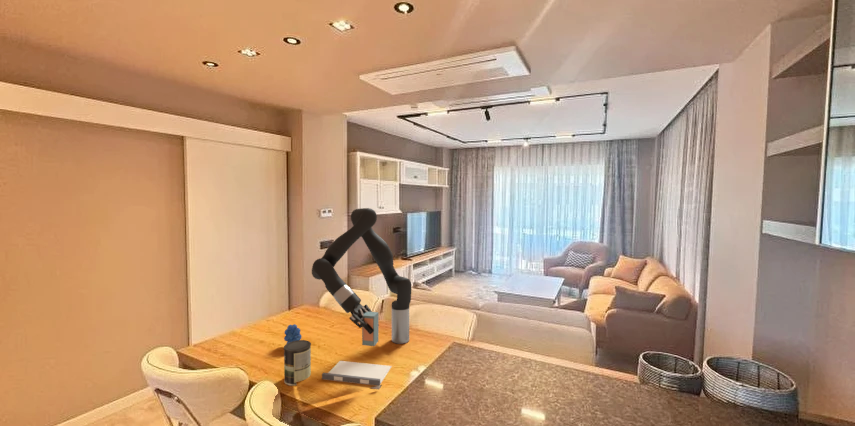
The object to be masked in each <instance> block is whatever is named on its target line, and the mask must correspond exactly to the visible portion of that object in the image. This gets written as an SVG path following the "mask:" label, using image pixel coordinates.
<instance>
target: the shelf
mask: <svg viewBox="0 0 855 426" xmlns="http://www.w3.org/2000/svg"><path fill="white" fill-rule="evenodd" d="M392 367H393V365H385V364H377V363H376V364H374V363H366V362H356V361H344V360H339V361H338V362H337V363H336V364H335V366H333V367H332V369H330V371H328V372H323V373H322V374H321V380H325V381H326V380H327V381H334V382H343V383H350V384H351V383H353V384H362V385H368V386H372V387H369V389H372V390H380V389H381V387H383V384H382V383H383V381H384V380H385V378H386V376H387V374H388V373H389V371H391V368H392Z"/></svg>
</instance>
